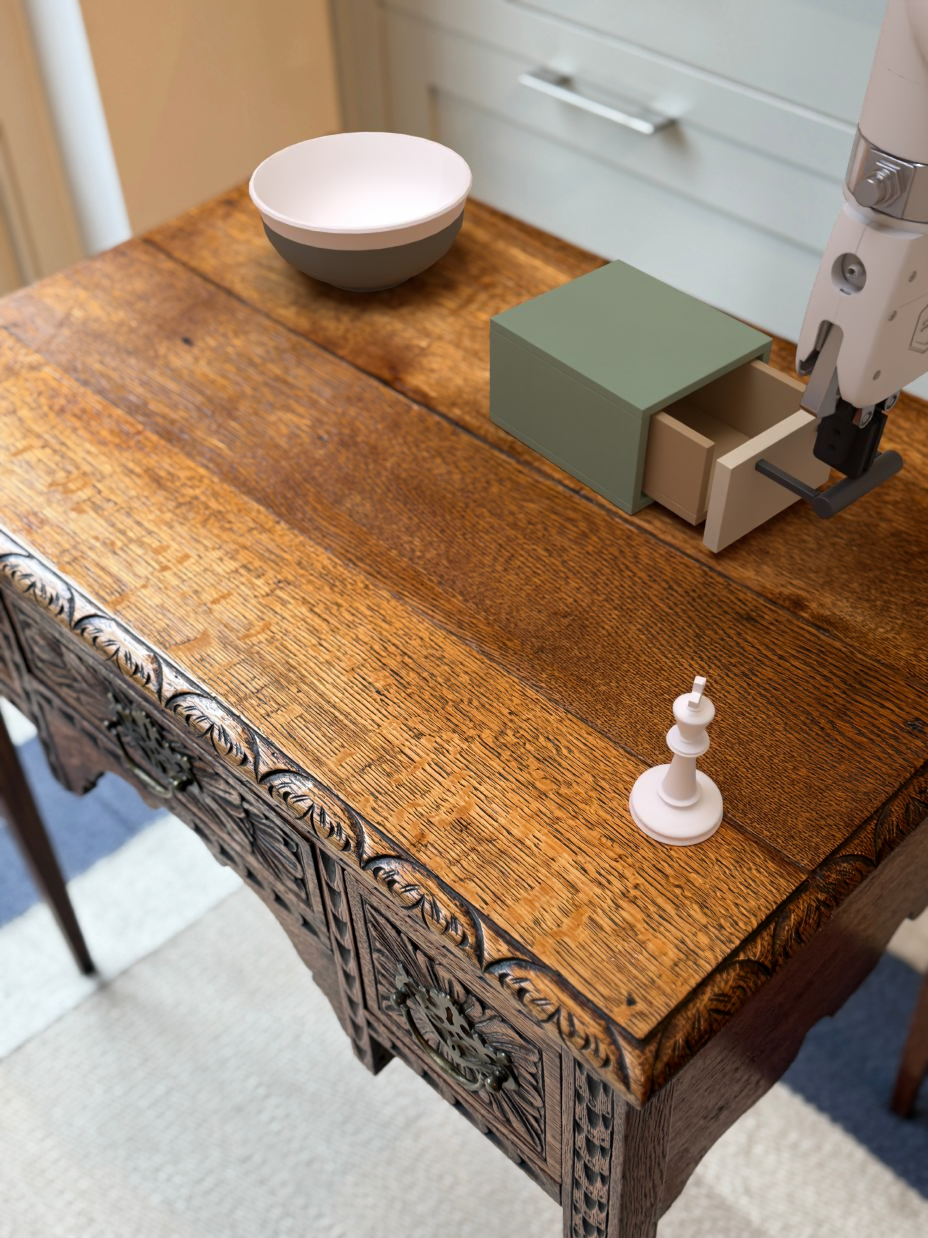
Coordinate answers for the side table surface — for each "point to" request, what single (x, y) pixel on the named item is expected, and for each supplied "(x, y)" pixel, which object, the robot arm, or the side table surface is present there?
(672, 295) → the cabinet
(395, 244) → the bowl
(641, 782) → the chess piece
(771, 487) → the drawer
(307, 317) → the side table surface
